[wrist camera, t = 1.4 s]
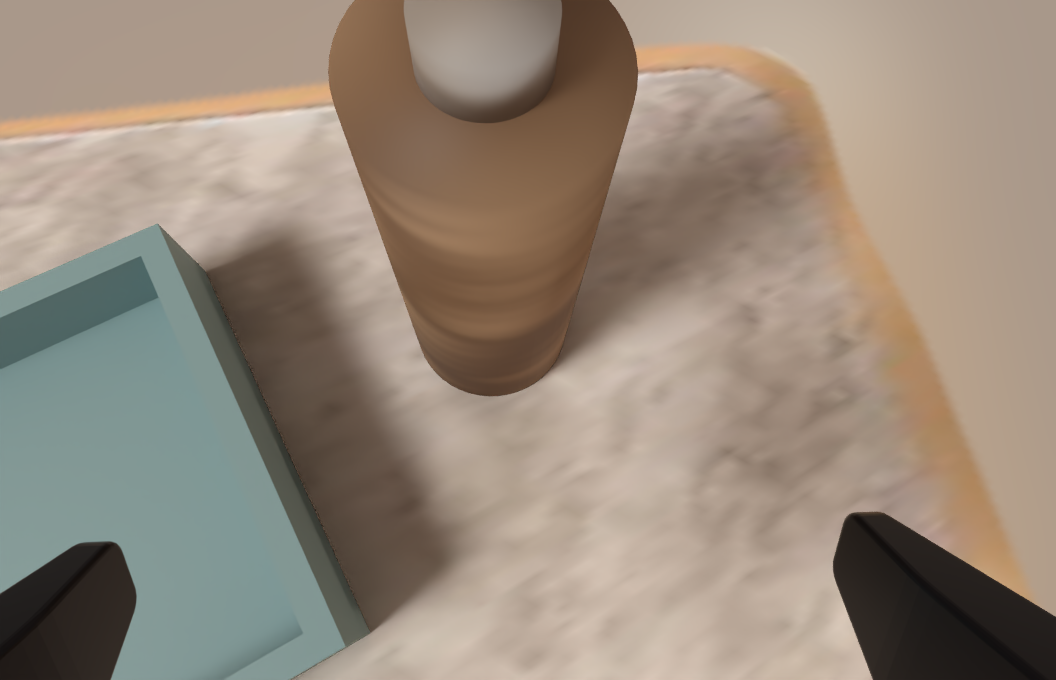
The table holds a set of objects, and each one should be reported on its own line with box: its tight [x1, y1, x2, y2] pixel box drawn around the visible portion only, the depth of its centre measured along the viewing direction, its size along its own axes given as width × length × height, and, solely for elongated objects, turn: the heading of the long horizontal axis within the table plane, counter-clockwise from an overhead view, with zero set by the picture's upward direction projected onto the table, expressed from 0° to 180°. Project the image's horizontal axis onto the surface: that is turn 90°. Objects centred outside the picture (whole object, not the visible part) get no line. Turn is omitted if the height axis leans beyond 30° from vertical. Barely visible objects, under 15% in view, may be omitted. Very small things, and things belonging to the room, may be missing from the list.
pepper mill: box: [328, 0, 638, 396], centre depth 17 cm, size 5×5×14 cm
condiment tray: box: [0, 224, 370, 680], centre depth 19 cm, size 14×14×4 cm
